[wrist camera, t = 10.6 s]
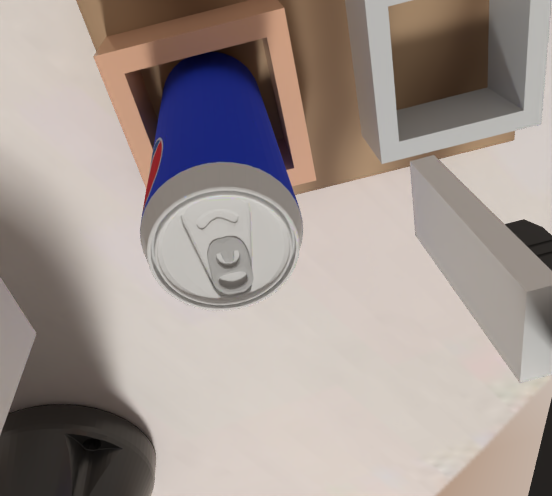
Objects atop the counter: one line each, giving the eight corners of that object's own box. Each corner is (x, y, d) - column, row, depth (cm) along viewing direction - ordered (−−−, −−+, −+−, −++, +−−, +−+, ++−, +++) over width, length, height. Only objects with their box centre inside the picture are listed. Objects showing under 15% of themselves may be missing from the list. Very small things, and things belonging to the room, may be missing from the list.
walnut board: (166, 215, 34) (165, 227, 32) (74, -24, 26) (68, -21, 24) (502, 131, 33) (514, 140, 32) (512, -137, 25) (529, -139, 24)
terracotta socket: (162, 185, 31) (158, 219, 27) (106, 36, 26) (93, 56, 23) (303, 150, 31) (316, 180, 27) (273, -6, 26) (284, 7, 23)
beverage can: (151, 58, 27) (113, 196, 14) (250, 40, 27) (297, 160, 14) (176, 151, 30) (163, 331, 17) (265, 134, 30) (316, 301, 17)
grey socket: (361, 135, 31) (381, 164, 27) (341, -24, 26) (363, -13, 22) (504, 99, 30) (541, 123, 27) (510, -67, 26) (556, -62, 22)
